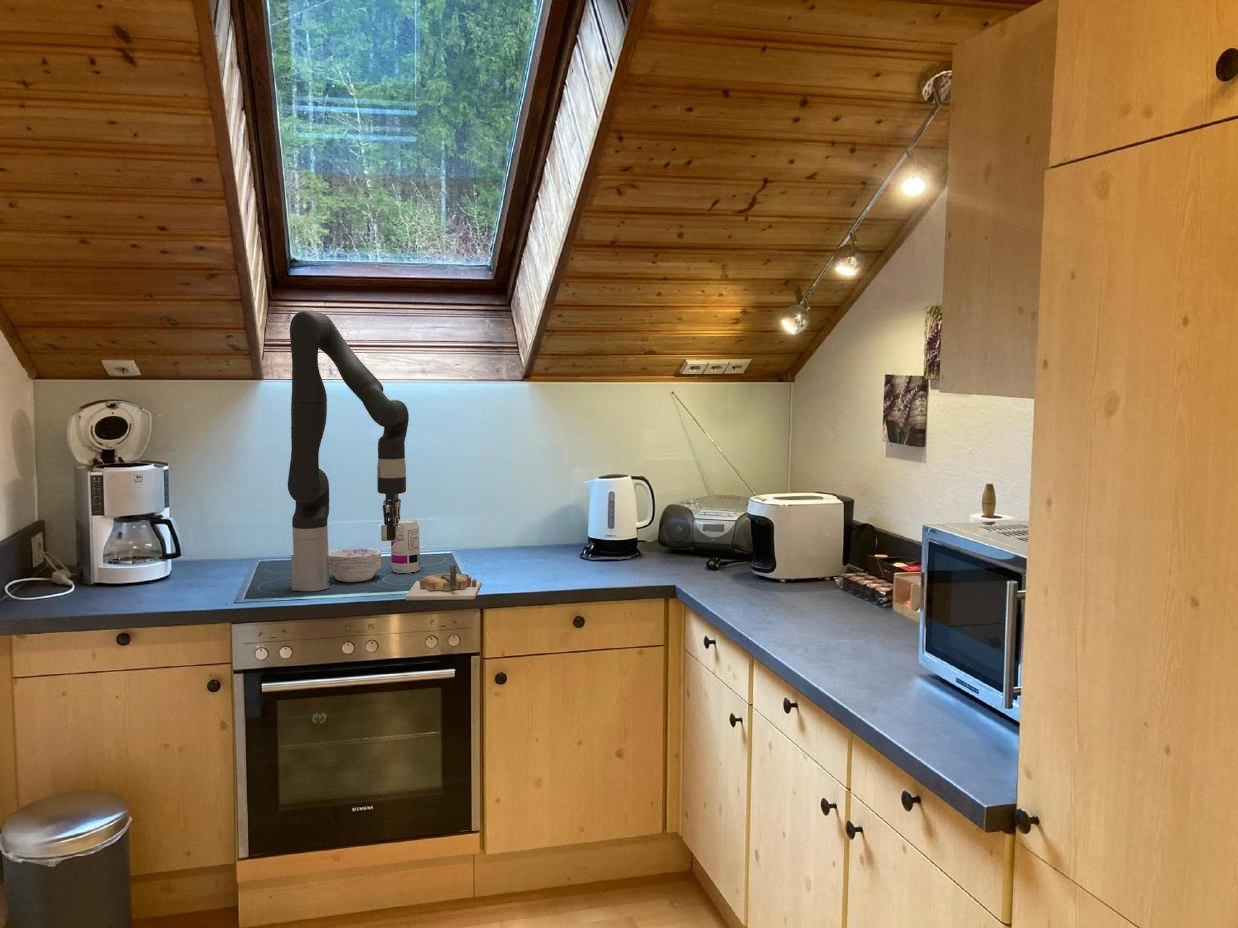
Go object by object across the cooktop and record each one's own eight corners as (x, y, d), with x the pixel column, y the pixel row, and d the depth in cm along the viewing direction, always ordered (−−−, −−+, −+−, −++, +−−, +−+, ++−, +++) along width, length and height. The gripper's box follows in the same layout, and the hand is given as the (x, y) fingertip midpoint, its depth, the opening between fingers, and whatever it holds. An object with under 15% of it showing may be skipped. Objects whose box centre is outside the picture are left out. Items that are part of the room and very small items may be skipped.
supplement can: (394, 575, 300) (393, 524, 298) (389, 569, 307) (388, 520, 306) (422, 572, 303) (421, 522, 301) (416, 567, 310) (415, 518, 309)
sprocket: (443, 594, 268) (442, 567, 268) (410, 584, 280) (409, 558, 279) (486, 586, 278) (485, 560, 277) (452, 577, 289) (452, 552, 289)
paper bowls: (371, 571, 305) (370, 545, 304) (389, 580, 292) (388, 553, 291) (320, 577, 297) (319, 550, 296) (336, 587, 284) (335, 558, 283)
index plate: (405, 600, 268) (405, 590, 268) (416, 584, 287) (416, 575, 287) (474, 599, 269) (474, 589, 268) (481, 583, 288) (481, 574, 287)
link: (402, 541, 274) (402, 525, 274) (380, 541, 274) (380, 525, 274) (404, 539, 278) (404, 523, 277) (382, 539, 277) (382, 523, 277)
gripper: (401, 478, 267) (402, 543, 269) (410, 472, 281) (410, 534, 283) (372, 478, 267) (373, 543, 269) (382, 472, 281) (383, 534, 283)
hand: (392, 538), depth 276 cm, fingers closed on link, 3 cm apart
